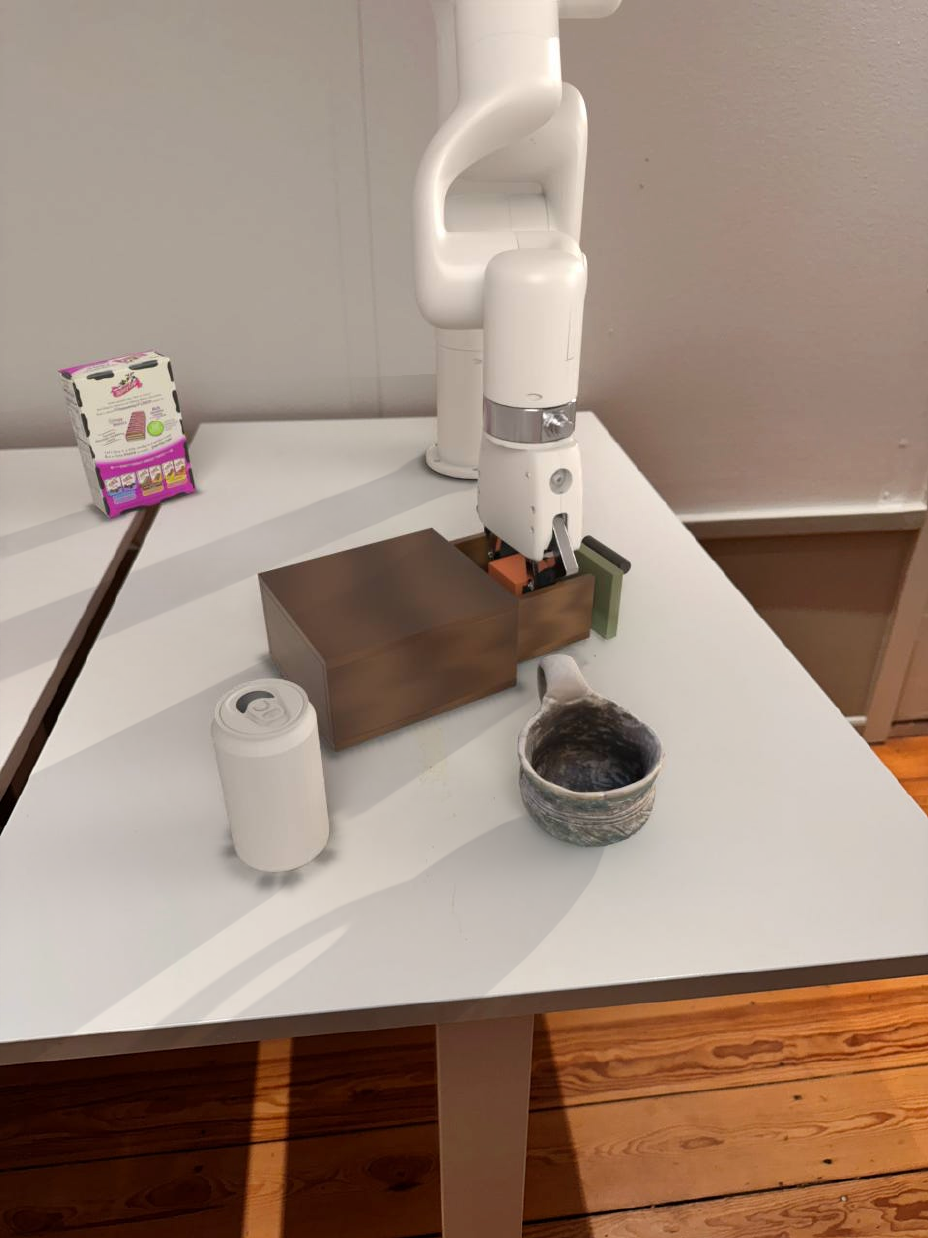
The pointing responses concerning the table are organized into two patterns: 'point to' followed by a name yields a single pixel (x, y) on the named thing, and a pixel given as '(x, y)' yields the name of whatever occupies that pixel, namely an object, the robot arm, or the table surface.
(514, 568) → the block
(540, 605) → the drawer
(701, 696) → the table surface
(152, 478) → the candy bar box
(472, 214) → the robot arm
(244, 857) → the beverage can
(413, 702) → the cabinet
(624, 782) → the mug
